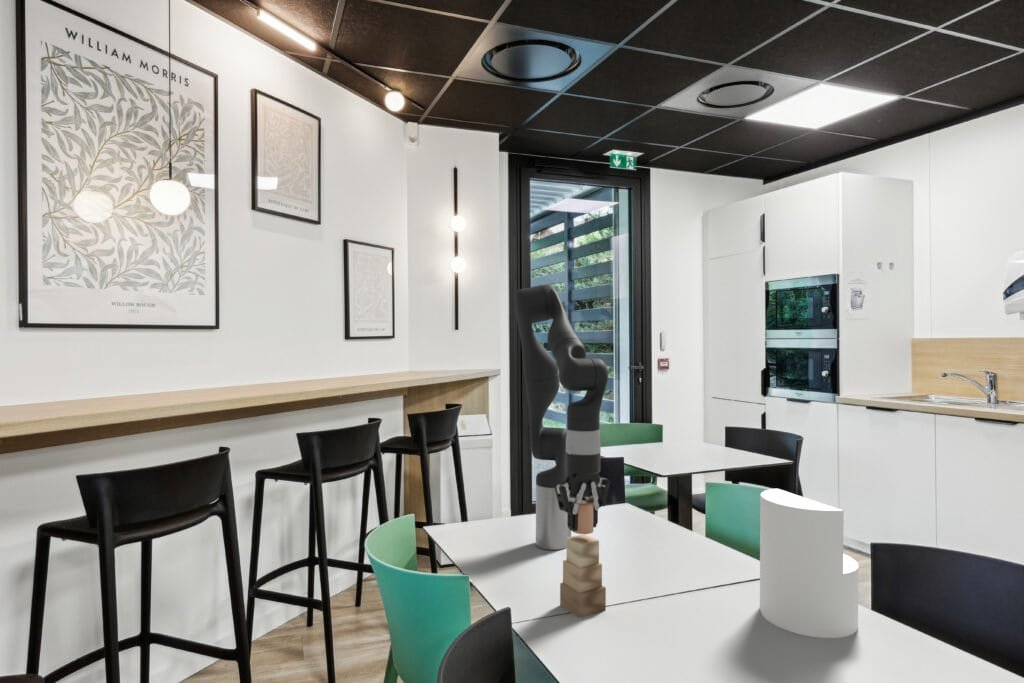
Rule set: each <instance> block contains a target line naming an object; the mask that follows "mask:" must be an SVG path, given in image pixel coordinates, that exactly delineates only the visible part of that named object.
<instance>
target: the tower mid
mask: <svg viewBox="0 0 1024 683" xmlns="http://www.w3.org/2000/svg"><path fill="white" fill-rule="evenodd" d="M562 582H563V583H564V584H565V585H567V586H569V587H570V588H572V589H574V590H575V591H577V592H579V593H581V592H585V591H589V590H593V589H597V588H601V587H602V586H603V564H602V563H601V562H599V564H595V565H591V566H587V567H582V568H579V567H578V566H576V565H574V564H572V563H570V562H568V561H566V559H564V560H562Z"/></svg>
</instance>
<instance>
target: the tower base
mask: <svg viewBox="0 0 1024 683" xmlns="http://www.w3.org/2000/svg"><path fill="white" fill-rule="evenodd" d="M559 586H560V587H559V589H560V590H559V599H560V600H559V603H560V604H559V605H560V606H561V607H562V608H563V609H565V610H567V611H568V612H570V613H571V614H573V615H574V616H576V617H577V618H583V617H587V616H591V615H594V614H598V613H601V612H604V611H606V609H607V607H606V604H607V603H606V602H607V600H606V598H607V597H606V595H607V594H606V592H607V591H606V590H607V589H606V587H605V586H604V585H602V587H601V588H597V589H593V590H589V591H585V592H581V593H579V592H577V591H575V590H574V589H572V588H570V587H569V586H567V585H565V584H564V583H563V581H562V582H560V583H559Z"/></svg>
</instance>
